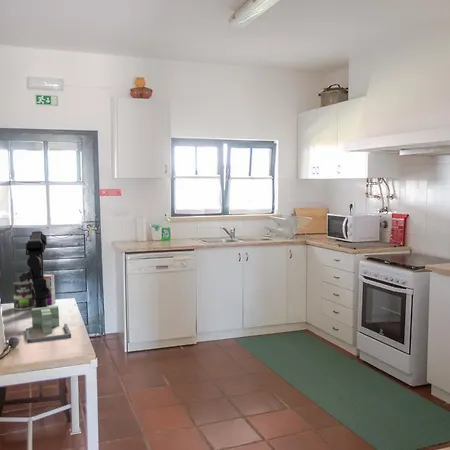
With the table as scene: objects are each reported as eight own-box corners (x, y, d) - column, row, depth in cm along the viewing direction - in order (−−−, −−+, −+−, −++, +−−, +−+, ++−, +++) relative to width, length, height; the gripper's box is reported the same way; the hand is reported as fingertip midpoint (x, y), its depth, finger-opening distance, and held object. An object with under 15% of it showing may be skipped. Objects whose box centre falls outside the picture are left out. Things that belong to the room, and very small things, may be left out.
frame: (25, 331, 235) (25, 328, 235) (66, 326, 242) (66, 323, 242) (27, 343, 219) (27, 340, 219) (71, 337, 226) (71, 334, 226)
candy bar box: (33, 304, 284) (31, 275, 282) (37, 302, 289) (35, 274, 287) (52, 304, 283) (50, 276, 281) (55, 302, 288) (54, 274, 286)
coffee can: (34, 308, 275) (33, 283, 274) (14, 310, 271) (12, 285, 269) (33, 304, 284) (32, 279, 283) (13, 306, 280) (12, 281, 279)
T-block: (32, 326, 243) (31, 308, 242) (58, 323, 247) (57, 305, 246) (33, 335, 230) (32, 316, 229) (61, 331, 235) (60, 312, 234)
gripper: (15, 265, 252) (16, 296, 253) (21, 269, 236) (22, 302, 237) (38, 263, 258) (39, 293, 259) (46, 267, 242) (47, 299, 243)
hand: (36, 296), depth 249 cm, fingers closed
